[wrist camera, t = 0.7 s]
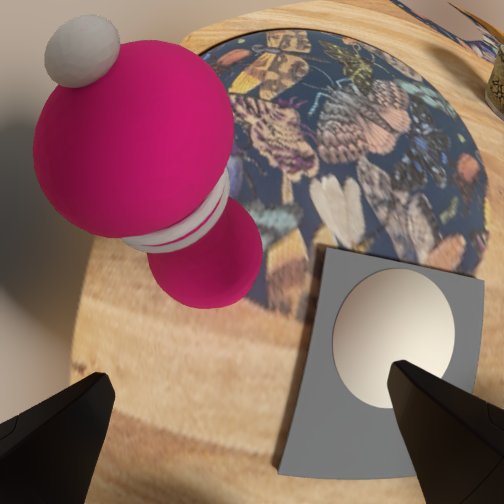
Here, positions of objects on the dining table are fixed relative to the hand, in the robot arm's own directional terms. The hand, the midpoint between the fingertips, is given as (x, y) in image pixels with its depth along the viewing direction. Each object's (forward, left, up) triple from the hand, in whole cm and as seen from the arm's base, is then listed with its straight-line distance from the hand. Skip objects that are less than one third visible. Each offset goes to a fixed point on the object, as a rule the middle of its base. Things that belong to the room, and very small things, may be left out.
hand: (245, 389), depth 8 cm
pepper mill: (+6, +5, -13) cm, 15 cm away
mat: (0, -11, -13) cm, 17 cm away
